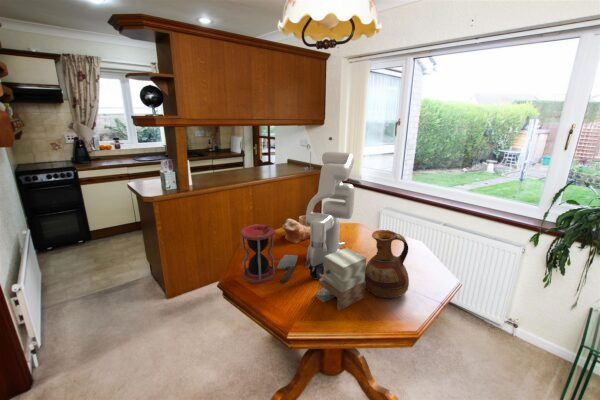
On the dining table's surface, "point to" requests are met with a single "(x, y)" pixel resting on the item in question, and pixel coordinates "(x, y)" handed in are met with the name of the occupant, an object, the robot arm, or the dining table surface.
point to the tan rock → (296, 230)
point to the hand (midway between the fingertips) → (316, 274)
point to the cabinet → (344, 276)
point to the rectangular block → (324, 295)
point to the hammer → (318, 271)
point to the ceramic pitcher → (387, 267)
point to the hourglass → (258, 253)
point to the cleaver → (287, 266)
